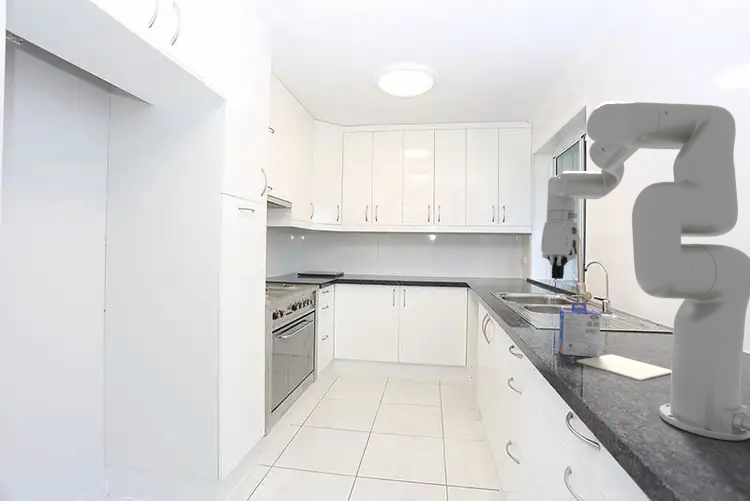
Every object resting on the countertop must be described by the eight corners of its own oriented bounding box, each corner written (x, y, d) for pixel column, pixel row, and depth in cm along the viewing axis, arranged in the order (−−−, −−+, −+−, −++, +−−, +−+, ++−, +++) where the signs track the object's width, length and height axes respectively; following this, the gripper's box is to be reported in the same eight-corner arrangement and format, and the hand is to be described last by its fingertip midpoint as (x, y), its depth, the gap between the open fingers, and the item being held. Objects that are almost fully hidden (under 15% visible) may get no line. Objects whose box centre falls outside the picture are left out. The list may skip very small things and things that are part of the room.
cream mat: (674, 372, 101) (674, 371, 101) (639, 381, 94) (640, 379, 94) (611, 355, 115) (611, 354, 115) (577, 361, 108) (577, 360, 108)
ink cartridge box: (593, 352, 117) (596, 303, 117) (600, 358, 112) (602, 306, 112) (557, 350, 119) (559, 301, 119) (562, 355, 114) (564, 303, 113)
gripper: (591, 217, 117) (588, 281, 117) (547, 218, 130) (545, 275, 131) (574, 216, 113) (571, 281, 114) (531, 217, 126) (528, 276, 127)
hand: (557, 278), depth 122 cm, fingers closed
